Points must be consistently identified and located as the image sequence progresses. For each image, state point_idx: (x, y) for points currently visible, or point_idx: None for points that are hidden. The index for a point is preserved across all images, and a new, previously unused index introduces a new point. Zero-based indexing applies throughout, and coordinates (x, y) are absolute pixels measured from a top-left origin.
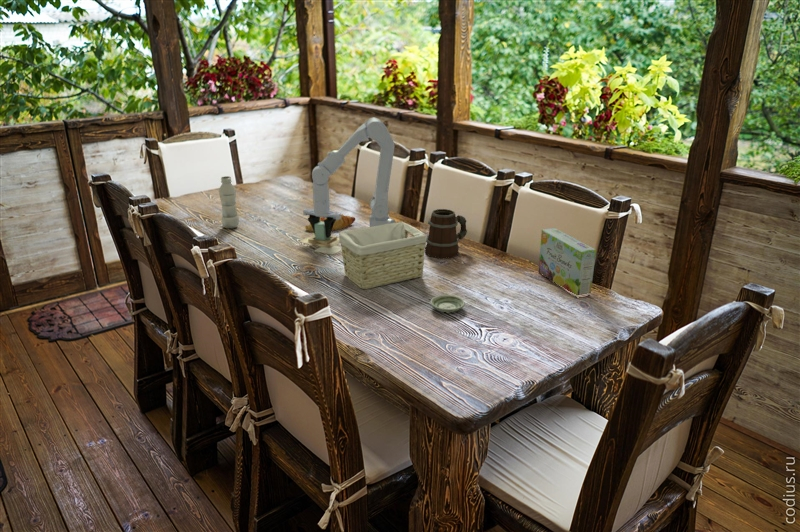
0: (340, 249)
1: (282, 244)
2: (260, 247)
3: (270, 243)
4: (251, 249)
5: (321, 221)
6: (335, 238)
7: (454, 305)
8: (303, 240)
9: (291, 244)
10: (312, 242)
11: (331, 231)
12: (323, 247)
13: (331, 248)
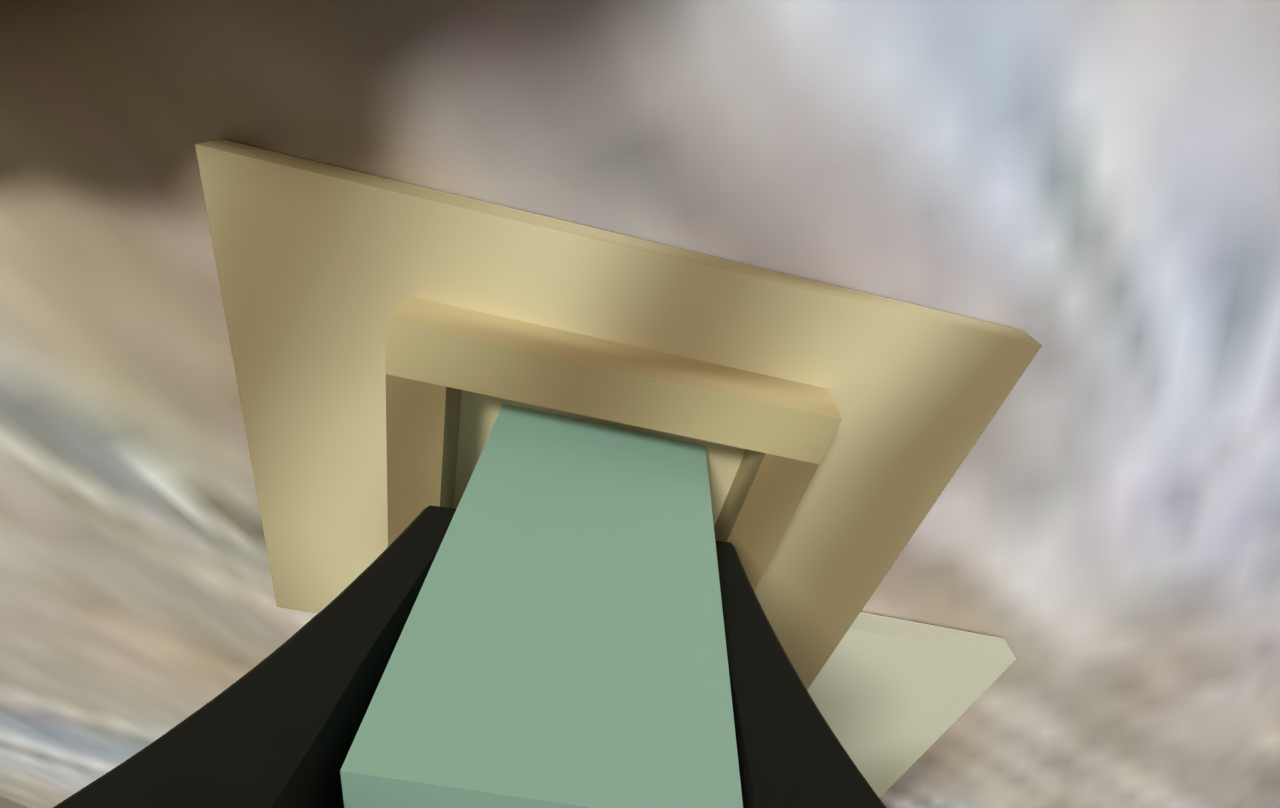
0: (947, 705)
1: (155, 648)
2: (49, 735)
3: (6, 649)
4: (36, 773)
5: (376, 782)
6: (809, 459)
7: None
8: (305, 562)
9: (247, 631)
10: None
11: (765, 616)
12: None
13: (823, 702)
